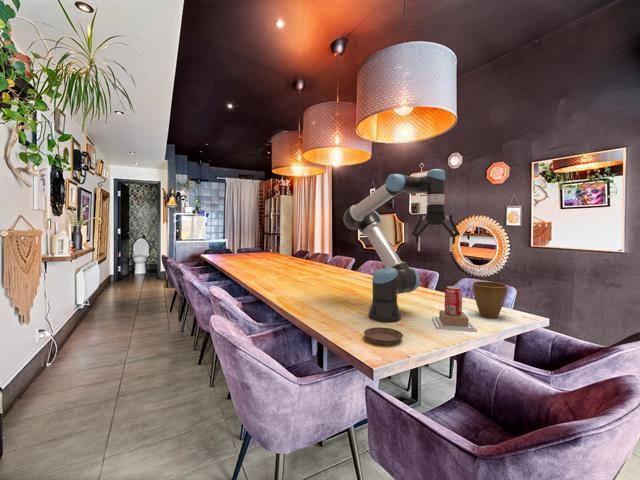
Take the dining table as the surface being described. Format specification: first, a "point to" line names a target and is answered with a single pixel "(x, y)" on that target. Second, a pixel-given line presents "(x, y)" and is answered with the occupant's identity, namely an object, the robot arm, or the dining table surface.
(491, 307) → the plant pot
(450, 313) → the soda can
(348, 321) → the dining table surface
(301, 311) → the dining table surface
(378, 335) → the saucer
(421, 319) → the dining table surface
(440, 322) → the base
